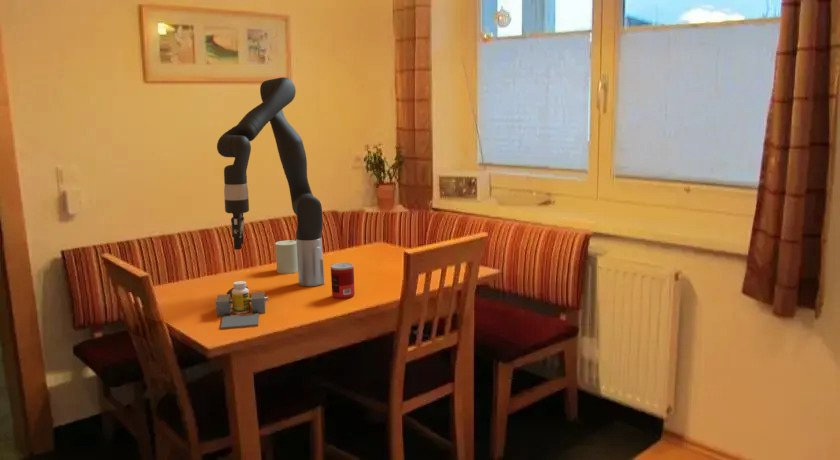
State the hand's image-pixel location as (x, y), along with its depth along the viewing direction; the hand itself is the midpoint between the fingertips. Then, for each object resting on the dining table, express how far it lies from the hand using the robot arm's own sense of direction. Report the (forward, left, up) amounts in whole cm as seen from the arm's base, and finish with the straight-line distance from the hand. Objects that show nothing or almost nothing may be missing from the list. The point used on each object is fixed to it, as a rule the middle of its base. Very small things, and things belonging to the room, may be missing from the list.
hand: (238, 246), depth 230 cm
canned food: (-34, -4, -21) cm, 40 cm away
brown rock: (+2, -11, -21) cm, 24 cm away
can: (-16, -46, -21) cm, 52 cm away
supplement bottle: (0, +4, -21) cm, 21 cm away
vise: (0, +3, -21) cm, 21 cm away
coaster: (0, +15, -21) cm, 26 cm away
